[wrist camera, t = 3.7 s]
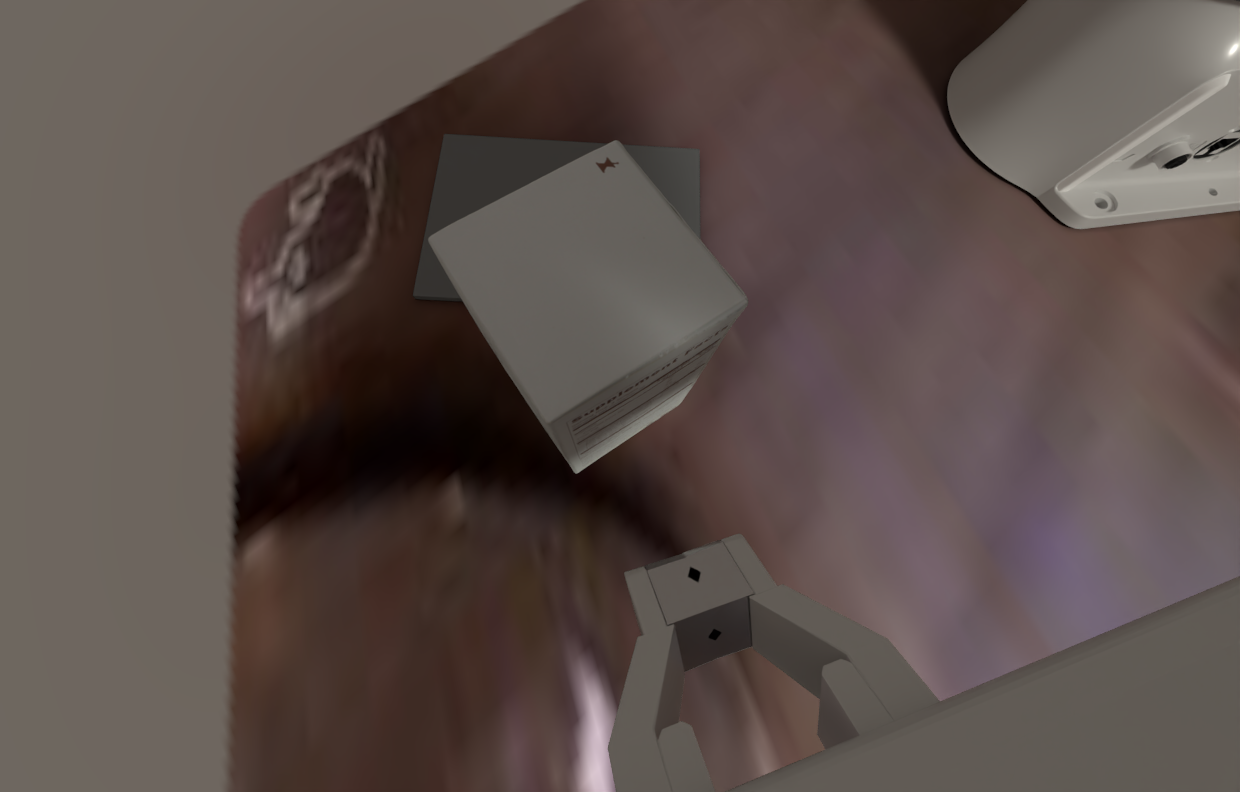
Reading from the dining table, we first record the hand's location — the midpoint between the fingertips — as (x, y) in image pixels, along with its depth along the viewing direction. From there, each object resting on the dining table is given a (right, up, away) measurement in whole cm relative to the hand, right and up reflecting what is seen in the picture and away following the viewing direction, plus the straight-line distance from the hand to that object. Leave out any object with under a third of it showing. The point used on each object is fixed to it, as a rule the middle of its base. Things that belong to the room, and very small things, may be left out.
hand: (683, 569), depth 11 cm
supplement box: (-3, +5, +15) cm, 16 cm away
